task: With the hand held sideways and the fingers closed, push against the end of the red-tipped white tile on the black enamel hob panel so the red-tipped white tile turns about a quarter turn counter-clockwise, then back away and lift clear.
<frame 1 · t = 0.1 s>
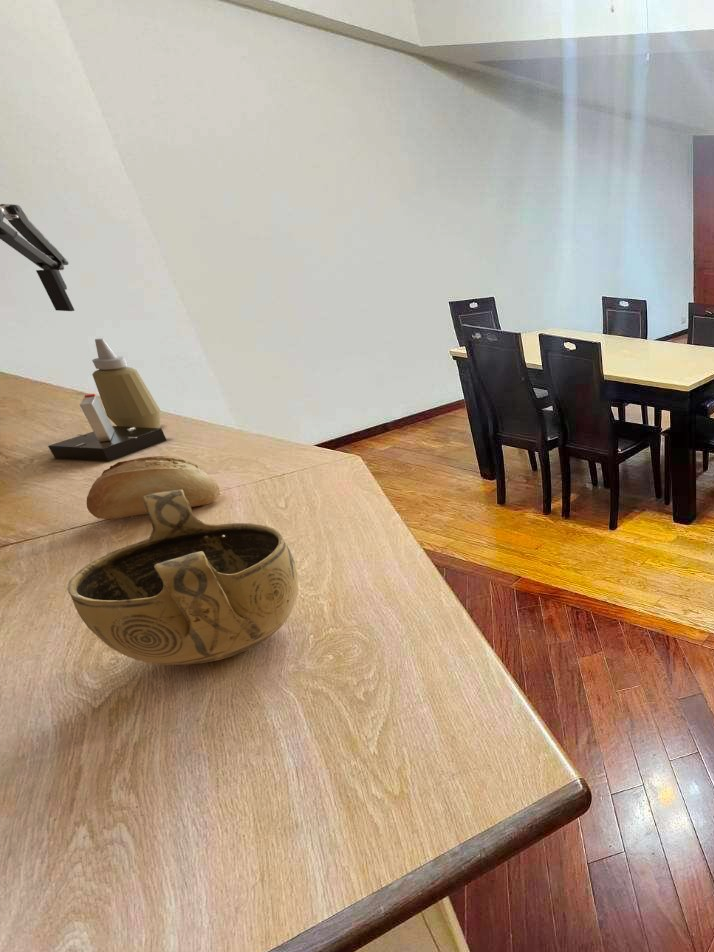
hand: (23, 316, 99), 24 cm above the counter, tool pointing down, fingers open, 13 cm apart
red-tipped white tile: (97, 417, 109), point 6 cm above the counter, hinge at 40.0°
squeeze bottle: (142, 430, 122), on the counter
hob panel: (113, 449, 112), on the counter
ceramic bowl: (226, 644, 65), on the counter
bread roll: (163, 510, 92), on the counter
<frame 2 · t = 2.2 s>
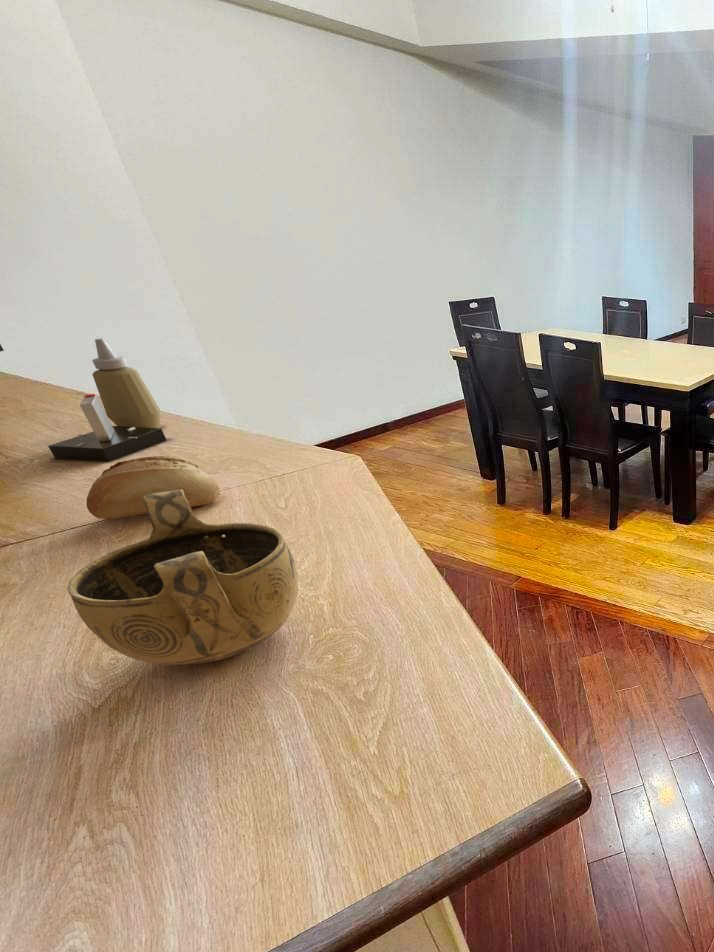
nothing on the counter moved.
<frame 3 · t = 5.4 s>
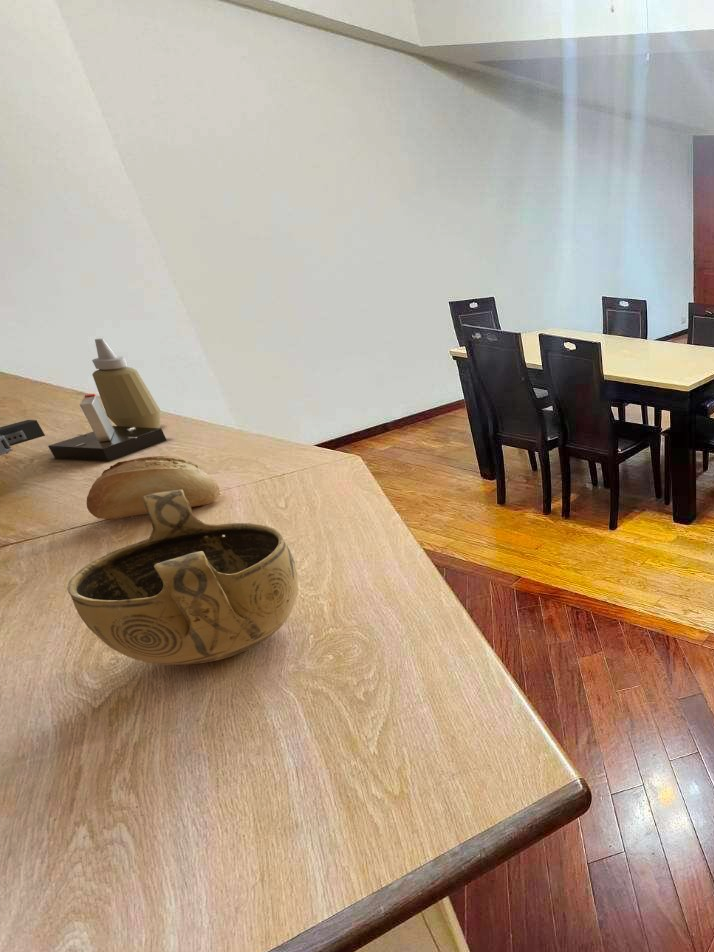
hand: (36, 427, 100), 7 cm above the counter, tool horizontal, fingers closed
nothing on the counter moved.
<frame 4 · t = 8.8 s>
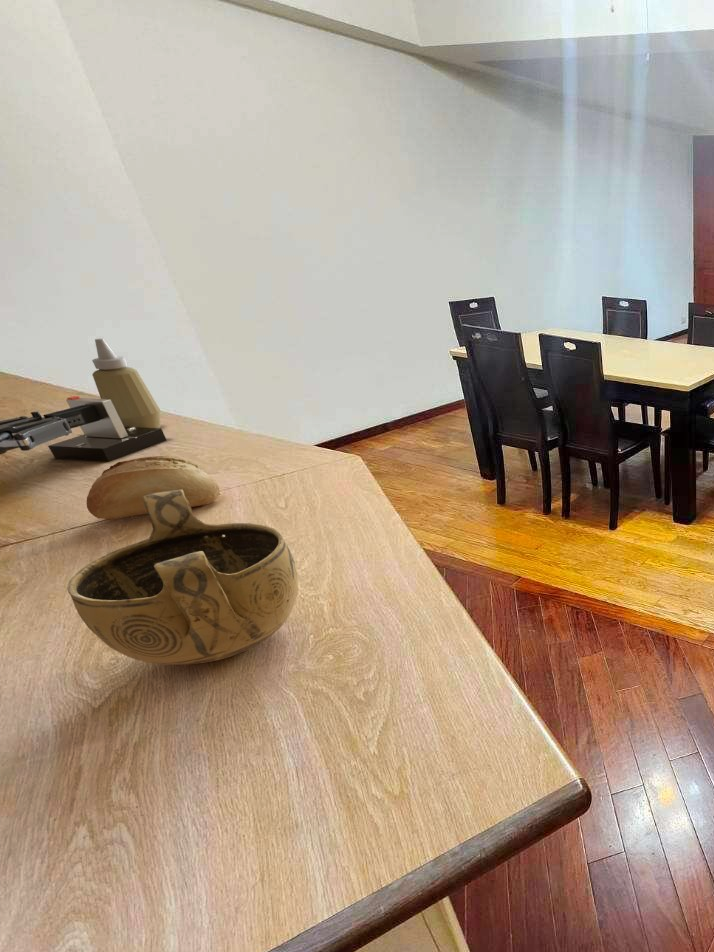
hand: (91, 412, 108), 7 cm above the counter, tool horizontal, fingers closed, pressing on red-tipped white tile
red-tipped white tile: (97, 417, 109), point 6 cm above the counter, hinge at 87.9°, touching gripper
everything else where it was.
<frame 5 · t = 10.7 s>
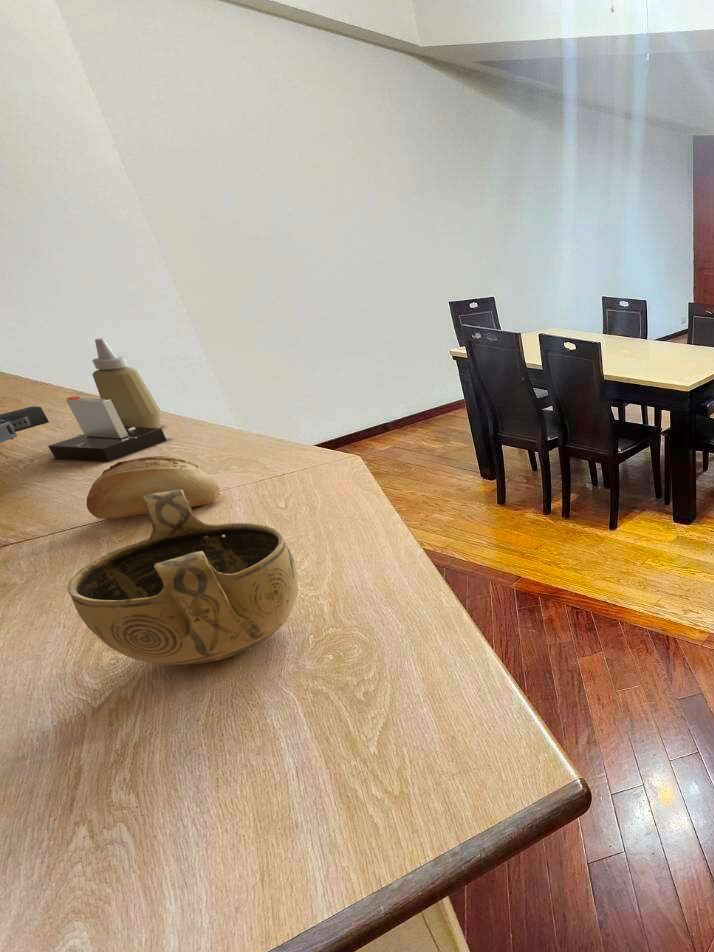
hand: (40, 414, 100), 9 cm above the counter, tool horizontal, fingers closed
red-tipped white tile: (97, 417, 109), point 6 cm above the counter, hinge at 88.1°
everything else where it was.
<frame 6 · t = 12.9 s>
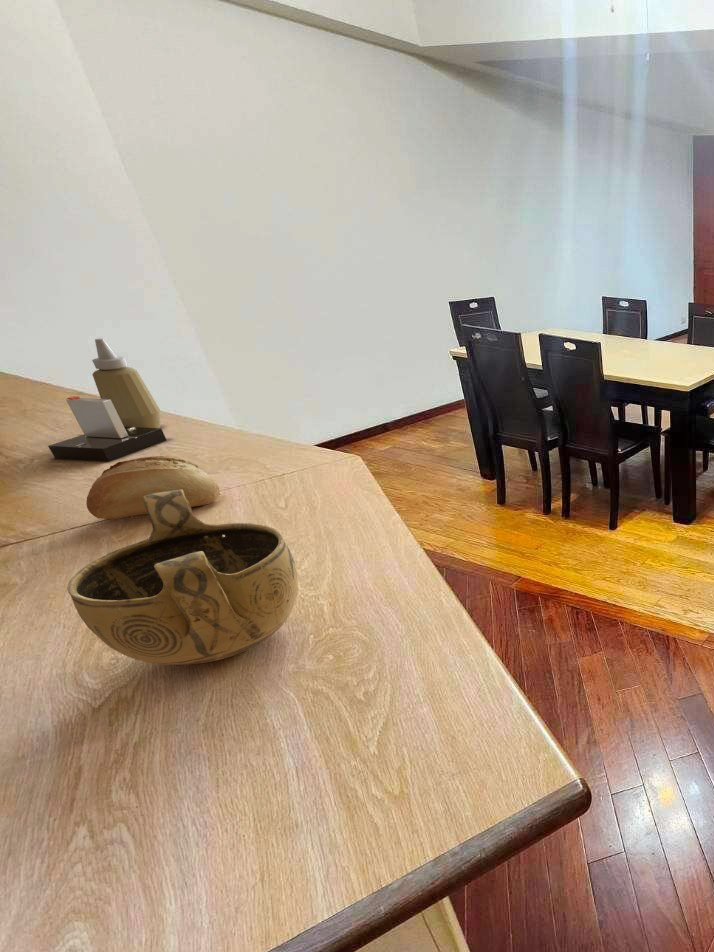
nothing on the counter moved.
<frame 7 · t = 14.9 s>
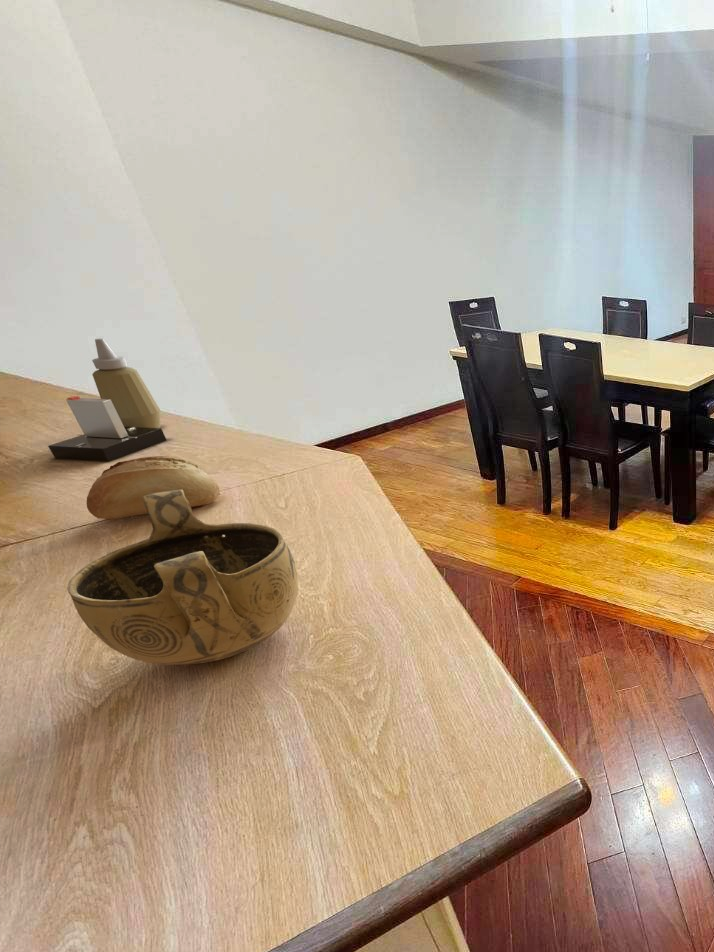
nothing on the counter moved.
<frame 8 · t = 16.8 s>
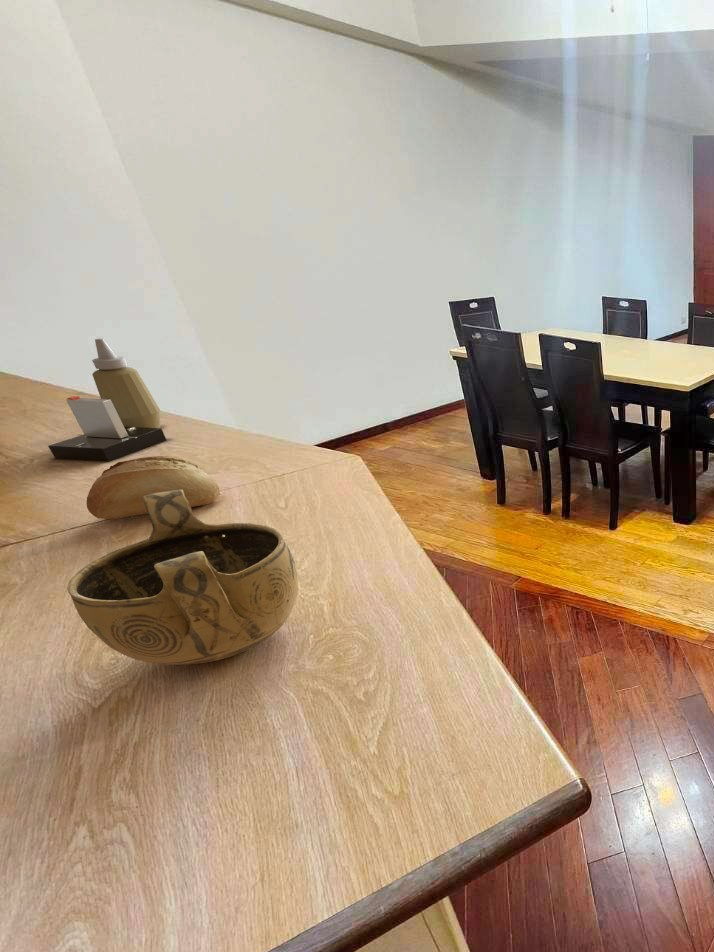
nothing on the counter moved.
at the end: red-tipped white tile at +88° (first picture: +40°); squeeze bottle moved 0.2 cm from its start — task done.
